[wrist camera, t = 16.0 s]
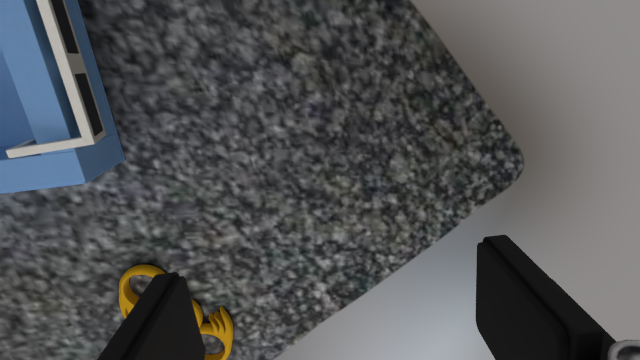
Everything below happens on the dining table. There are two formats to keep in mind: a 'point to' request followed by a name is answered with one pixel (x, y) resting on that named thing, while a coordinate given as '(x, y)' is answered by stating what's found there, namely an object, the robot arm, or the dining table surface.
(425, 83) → the dining table surface
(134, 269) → the yellow winged triple ring
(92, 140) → the white sunglasses
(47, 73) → the bin
